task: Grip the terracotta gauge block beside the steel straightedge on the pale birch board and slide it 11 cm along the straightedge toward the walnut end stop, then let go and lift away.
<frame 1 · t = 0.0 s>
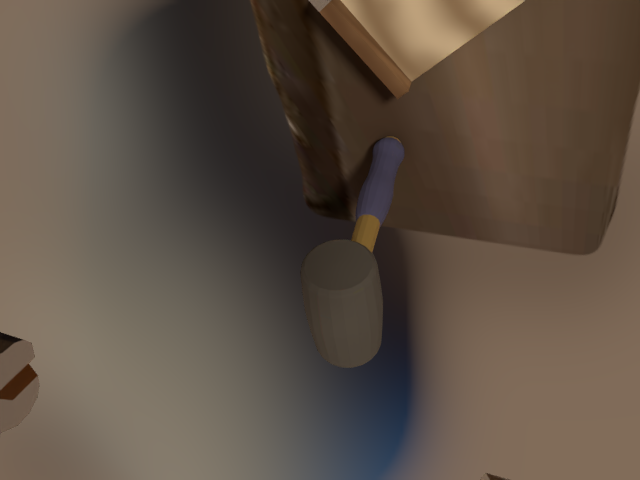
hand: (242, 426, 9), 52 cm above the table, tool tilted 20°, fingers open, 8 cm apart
rubber mallet: (391, 143, 68), on the table
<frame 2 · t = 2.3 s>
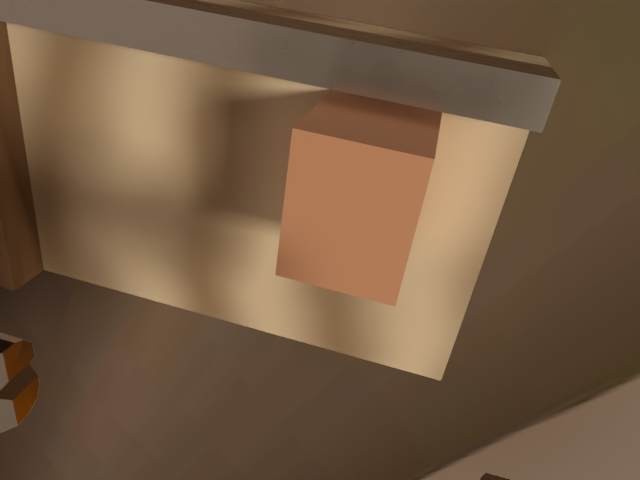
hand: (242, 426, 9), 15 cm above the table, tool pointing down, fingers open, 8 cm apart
gauge block: (373, 165, 20), point 2 cm above the table, touching birch board
steel straightedge: (249, 24, 21), resting on birch board
birch board: (239, 170, 24), on the table
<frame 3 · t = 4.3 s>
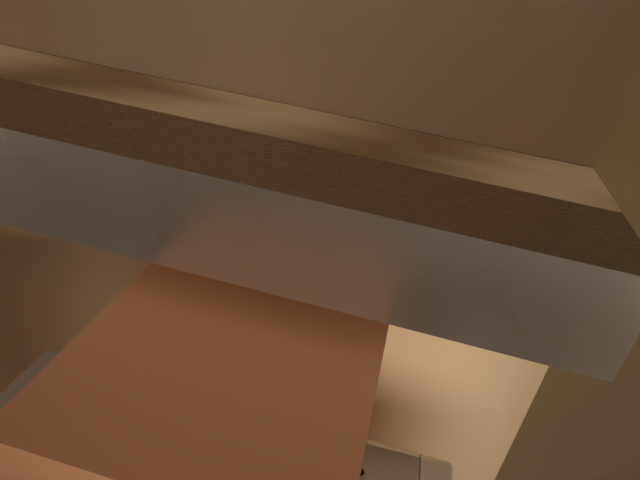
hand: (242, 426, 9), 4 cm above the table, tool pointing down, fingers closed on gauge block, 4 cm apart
gauge block: (275, 356, 11), point 2 cm above the table, touching birch board, gripper
steel straightedge: (57, 93, 11), resting on birch board
birch board: (80, 317, 14), on the table
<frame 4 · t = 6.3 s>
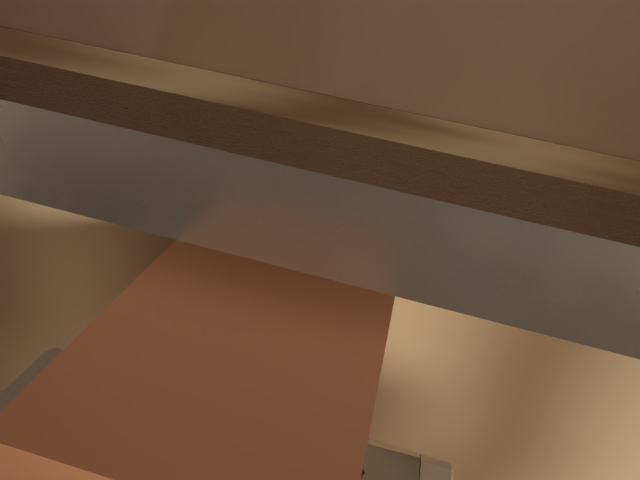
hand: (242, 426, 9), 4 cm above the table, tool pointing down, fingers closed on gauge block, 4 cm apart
gauge block: (276, 356, 11), point 2 cm above the table, touching gripper
steel straightedge: (274, 123, 11), resting on birch board
birch board: (250, 346, 14), on the table
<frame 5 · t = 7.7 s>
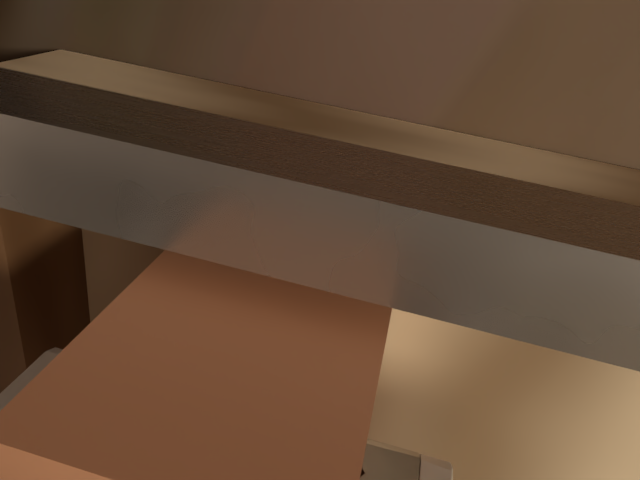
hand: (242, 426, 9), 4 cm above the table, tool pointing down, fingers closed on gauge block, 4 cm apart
gauge block: (275, 356, 11), point 2 cm above the table, touching gripper
steel straightedge: (571, 197, 10), resting on birch board
birch board: (478, 417, 13), on the table
when the fingers open (4 cm above the table, at t = 8.7 s): gauge block stays where it is, resting on birch board.
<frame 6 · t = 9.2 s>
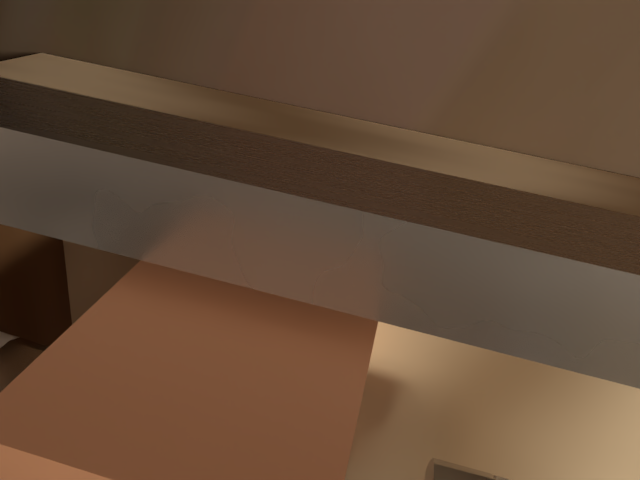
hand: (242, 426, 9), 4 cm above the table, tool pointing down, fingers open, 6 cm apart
gauge block: (266, 354, 11), point 2 cm above the table, touching birch board
steel straightedge: (563, 204, 10), resting on birch board
birch board: (470, 427, 13), on the table
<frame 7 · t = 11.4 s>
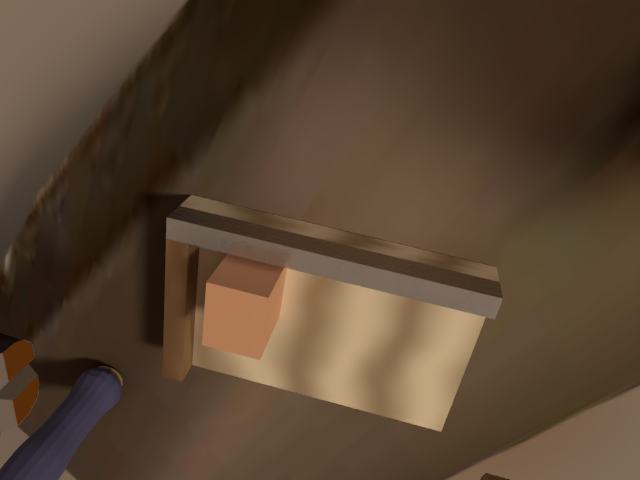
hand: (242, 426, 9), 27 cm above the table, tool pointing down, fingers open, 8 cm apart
gauge block: (257, 281, 38), point 2 cm above the table, touching birch board
steel straightedge: (337, 239, 37), resting on birch board
birch board: (323, 309, 40), on the table
rubber mallet: (110, 374, 48), on the table
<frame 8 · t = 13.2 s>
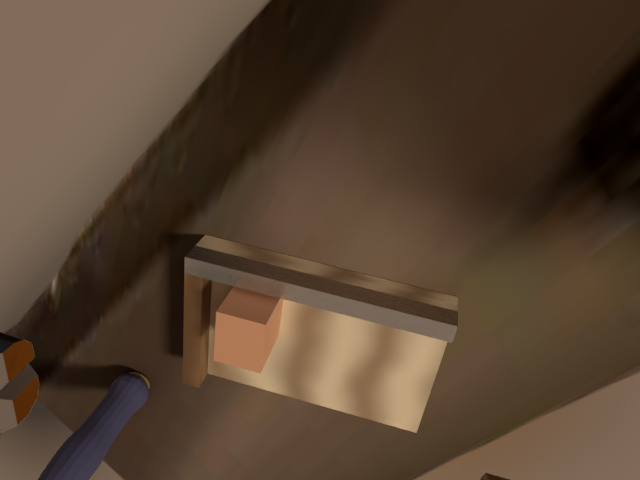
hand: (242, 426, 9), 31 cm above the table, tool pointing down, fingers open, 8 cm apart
gauge block: (259, 307, 45), point 2 cm above the table, touching birch board
steel straightedge: (326, 272, 45), resting on birch board
birch board: (316, 329, 48), on the table
rubber mallet: (139, 379, 57), on the table
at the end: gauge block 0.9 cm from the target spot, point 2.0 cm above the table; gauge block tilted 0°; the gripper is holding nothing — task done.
